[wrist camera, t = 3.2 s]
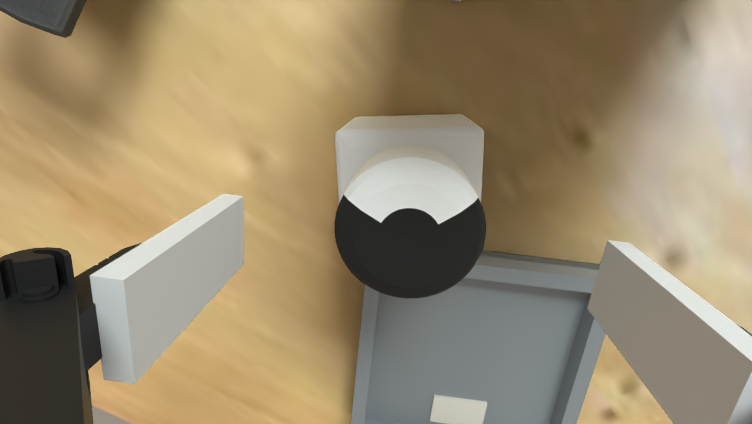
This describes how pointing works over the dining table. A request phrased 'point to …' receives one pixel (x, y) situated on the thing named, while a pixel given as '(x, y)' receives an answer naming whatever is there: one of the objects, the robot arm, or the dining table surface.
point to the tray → (481, 347)
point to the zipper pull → (45, 14)
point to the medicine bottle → (410, 201)
